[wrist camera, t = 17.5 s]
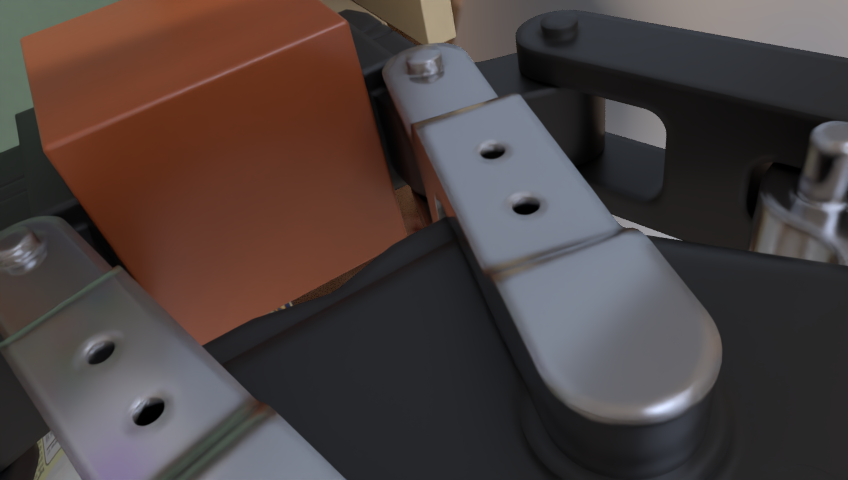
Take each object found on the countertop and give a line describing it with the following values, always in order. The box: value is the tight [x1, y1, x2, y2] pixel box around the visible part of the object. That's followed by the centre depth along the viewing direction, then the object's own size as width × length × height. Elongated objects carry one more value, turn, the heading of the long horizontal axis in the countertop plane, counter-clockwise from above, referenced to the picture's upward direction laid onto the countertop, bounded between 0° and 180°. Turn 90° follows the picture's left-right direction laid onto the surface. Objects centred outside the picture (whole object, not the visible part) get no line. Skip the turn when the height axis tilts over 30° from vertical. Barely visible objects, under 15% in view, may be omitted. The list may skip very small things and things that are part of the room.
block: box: [20, 0, 407, 346], centre depth 11 cm, size 4×4×4 cm
